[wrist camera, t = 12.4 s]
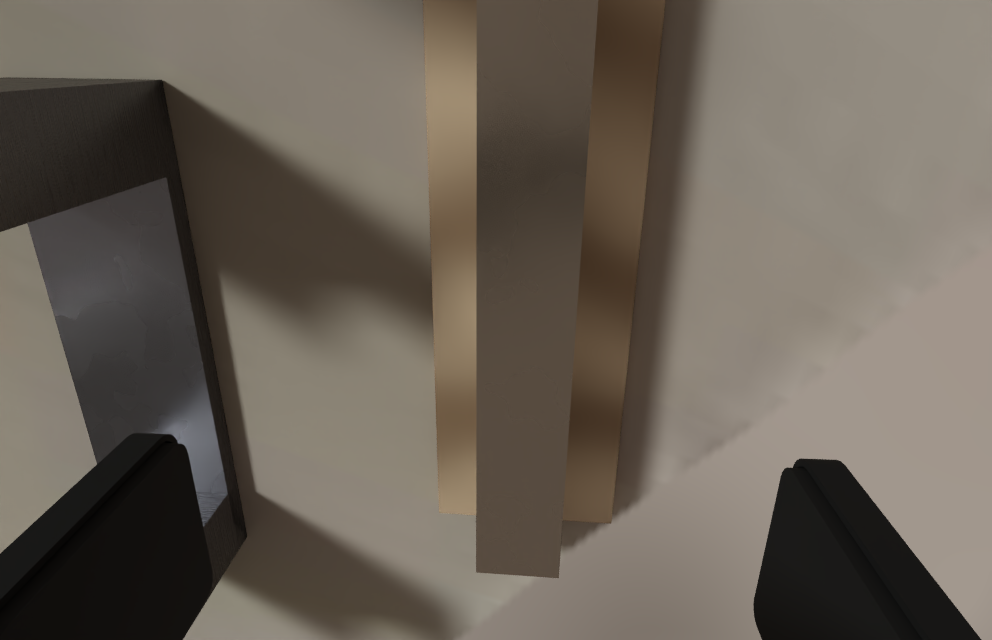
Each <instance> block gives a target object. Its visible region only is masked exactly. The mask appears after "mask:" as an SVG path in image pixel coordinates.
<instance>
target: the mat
mask: <svg viewBox="0 0 992 640" xmlns="http://www.w3.org/2000/svg"><path fill="white" fill-rule="evenodd" d="M665 1H666V0H598V13H597V27H596V42H595V56H594V71H593V85H592V100H591V114H590V129H589V144H588V158H587V173H586V187H585V202H584V216H583V231H582V245H581V260H580V275H579V289H578V304H577V318H576V333H575V347H574V362H573V376H572V391H571V406H570V420H569V435H568V449H567V464H566V478H565V493H564V507H563V521H579V522H596V523H611V520H612V511H613V501H614V492H615V482H616V472H617V463H618V453H619V443H620V434H621V424H622V415H623V405H624V395H625V386H626V376H627V366H628V357H629V347H630V338H631V328H632V318H633V309H634V299H635V290H636V280H637V270H638V261H639V251H640V241H641V232H642V222H643V213H644V203H645V193H646V184H647V174H648V164H649V155H650V145H651V136H652V126H653V116H654V107H655V97H656V88H657V78H658V68H659V59H660V49H661V39H662V30H663V20H664V11H665ZM423 16H424V47H425V79H426V110H427V142H428V173H429V205H430V236H431V268H432V299H433V331H434V362H435V394H436V425H437V457H438V488H439V513H450V514H466V515H476V237H477V0H423Z"/></svg>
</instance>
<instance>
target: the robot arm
mask: <svg viewBox="0 0 992 640" xmlns="http://www.w3.org/2000/svg"><path fill="white" fill-rule="evenodd" d="M212 583H213V572H212V567H211V562H210V558H209V553H208V548H207V543H206V538H205V533H204V528H203V523H202V519H201V514H200V509H199V504H198V499H197V494H196V489H195V484H194V480H193V475H192V470H191V465H190V460H189V455H188V451H187V448H186V447H185V446H184V445H183V444H178V441H177V439H176V438H175V437H174V436H173V435H171V434H154V433H133V434H131V435H129V436H128V437H126V438H125V439H124V440H123V441H122V442H121V443H120V444H119V445H118V446H117V447H116V448H114V449H113V450H112V451H111V452H110V453H109V454H108V455H107V456H106V457H105V458H104V459H103V460H101V461H100V462H99V463H98V464H97V465H96V466H95V467H94V468H93V469H92V470H91V471H90V472H88V473H87V474H86V475H85V476H84V477H83V478H82V479H81V480H80V481H79V482H78V483H77V484H75V485H74V486H73V487H72V488H71V489H70V490H69V491H68V492H67V493H66V494H65V495H64V496H62V497H61V498H60V499H59V500H58V501H57V502H56V503H55V504H54V505H53V506H52V507H50V508H49V509H48V510H47V511H46V512H45V513H44V514H43V515H42V516H41V517H40V518H39V519H37V520H36V521H35V522H34V523H33V524H32V525H31V526H30V527H29V528H28V529H27V530H26V531H24V532H23V533H22V534H21V535H20V536H19V537H18V538H17V539H16V540H15V541H14V542H13V543H11V544H10V545H9V546H8V547H7V548H6V549H5V550H4V551H3V552H2V553H1V554H0V640H183V638H184V637H185V635H186V633H187V632H188V630H189V628H190V627H191V625H192V623H193V622H194V620H195V618H196V617H197V615H198V613H199V612H200V610H201V609H202V607H203V605H204V604H205V602H206V600H207V598H208V596H209V594H210V591H211V588H212ZM754 617H755V622H756V625H757V628H758V630H759V633H760V635H761V638H762V640H981V639H980V637H979V636H978V635H977V634H976V632H975V631H974V630H973V628H972V627H971V626H970V625H969V623H968V622H967V621H966V620H965V618H964V617H963V616H962V614H961V613H960V612H959V611H958V609H957V608H956V607H955V605H954V604H953V603H952V602H951V600H950V599H949V598H948V596H947V595H946V594H945V593H944V591H943V590H942V589H941V588H940V586H939V585H938V584H937V582H936V581H935V580H934V579H933V577H932V576H931V575H930V573H929V572H928V571H927V570H926V568H925V567H924V566H923V564H922V563H921V562H920V561H919V559H918V558H917V557H916V556H915V554H914V553H913V552H912V550H911V549H910V548H909V547H908V545H907V544H906V543H905V541H904V540H903V539H902V538H901V537H900V535H899V534H898V532H897V531H896V530H895V529H894V527H893V526H892V525H891V524H890V522H889V521H888V520H887V519H886V517H885V516H884V515H883V514H882V512H881V511H880V510H879V508H878V507H877V506H876V504H875V503H874V502H873V501H872V499H871V498H870V497H869V495H868V494H867V493H866V492H865V490H864V489H863V488H862V486H861V485H860V484H859V483H858V482H857V480H856V479H855V478H854V477H853V475H852V474H851V472H850V471H849V470H848V469H847V467H846V466H845V465H844V464H843V463H842V462H841V461H838V460H823V459H822V460H821V459H799V460H797V461H796V462H795V464H794V466H793V468H785V469H784V471H783V472H782V475H781V479H780V483H779V488H778V492H777V497H776V502H775V507H774V511H773V515H772V520H771V525H770V529H769V534H768V538H767V543H766V548H765V552H764V556H763V561H762V566H761V570H760V575H759V579H758V584H757V588H756V593H755V597H754Z"/></svg>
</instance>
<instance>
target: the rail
mask: <svg viewBox="0 0 992 640" xmlns="http://www.w3.org/2000/svg"><path fill="white" fill-rule="evenodd" d="M597 13H598V0H477V237H476V572H479V573H493V574H507V575H522V576H536V577H550V578H559V566H560V551H561V537H562V522H563V507H564V493H565V478H566V464H567V449H568V435H569V420H570V406H571V391H572V376H573V362H574V347H575V333H576V318H577V304H578V289H579V275H580V260H581V245H582V231H583V216H584V202H585V187H586V173H587V158H588V144H589V129H590V114H591V100H592V85H593V71H594V56H595V42H596V27H597Z"/></svg>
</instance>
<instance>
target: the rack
mask: <svg viewBox="0 0 992 640" xmlns="http://www.w3.org/2000/svg"><path fill="white" fill-rule="evenodd" d="M26 223H28V226H29V230H30V233H31V237H32V240H33V244H34V247H35V251H36V254H37V258H38V261H39V264H40V268H41V271H42V275H43V278H44V282H45V285H46V289H47V292H48V296H49V299H50V303H51V306H52V309H53V313H54V316H55V320H56V323H57V327H58V330H59V334H60V337H61V341H62V344H63V347H64V351H65V354H66V358H67V361H68V365H69V368H70V372H71V375H72V379H73V382H74V386H75V389H76V392H77V396H78V399H79V403H80V406H81V410H82V413H83V417H84V420H85V424H86V427H87V430H88V434H89V437H90V441H91V444H92V448H93V451H94V455H95V458H96V462H97V464H98V463H99V462H100V461H101V460H103V459H104V458H105V457H106V456H107V455H108V454H109V453H110V452H111V451H112V450H113V449H114V448H116V447H117V446H118V445H119V444H120V443H121V442H122V441H123V440H124V439H125V438H126V437H128V436H129V435H131V434H133V433H154V434H171V435H173V436H174V437H175V438H176V439H177V441H178V444H183V445H184V446H185V447H186V448H187V451H188V455H189V460H190V465H191V470H192V475H193V480H194V484H195V489H196V494H197V499H198V504H199V509H200V514H201V519H202V523H203V528H204V533H205V538H206V543H207V548H208V553H209V558H210V562H211V567H212V572H213V583H212V588H211V591H210V594H209V596H208V598H209V597H210V595H211V593H212V592H213V590H214V589H215V587H216V585H217V584H218V582H219V581H220V579H221V577H222V576H223V574H224V573H225V571H226V569H227V568H228V566H229V565H230V563H231V561H232V560H233V558H234V557H235V555H236V553H237V552H238V550H239V549H240V547H241V545H242V544H243V542H244V540H245V539H246V537H247V534H246V529H245V523H244V518H243V513H242V507H241V502H240V497H239V491H238V486H237V480H236V475H235V470H234V464H233V459H232V454H231V448H230V443H229V437H228V432H227V427H226V421H225V416H224V411H223V405H222V400H221V395H220V389H219V384H218V378H217V373H216V368H215V362H214V357H213V352H212V346H211V341H210V335H209V330H208V325H207V319H206V314H205V309H204V303H203V298H202V292H201V287H200V282H199V276H198V271H197V266H196V260H195V255H194V249H193V244H192V239H191V233H190V228H189V223H188V217H187V212H186V207H185V201H184V196H183V190H182V185H181V180H180V174H179V169H178V164H177V158H176V153H175V147H174V142H173V137H172V131H171V126H170V121H169V115H168V110H167V104H166V99H165V94H164V88H163V83H162V80H135V79H67V78H0V232H1V231H4V230H8V229H11V228H14V227H17V226H20V225H23V224H26ZM208 598H207V600H208ZM207 600H206V601H207ZM205 603H206V602H205ZM204 605H205V604H204ZM204 605H203V606H204ZM202 608H203V607H202ZM200 611H201V610H200ZM199 613H200V612H199ZM199 613H198V614H199ZM197 616H198V615H197ZM195 619H196V618H195ZM194 621H195V620H194ZM192 624H193V623H192ZM189 629H190V628H189Z"/></svg>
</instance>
